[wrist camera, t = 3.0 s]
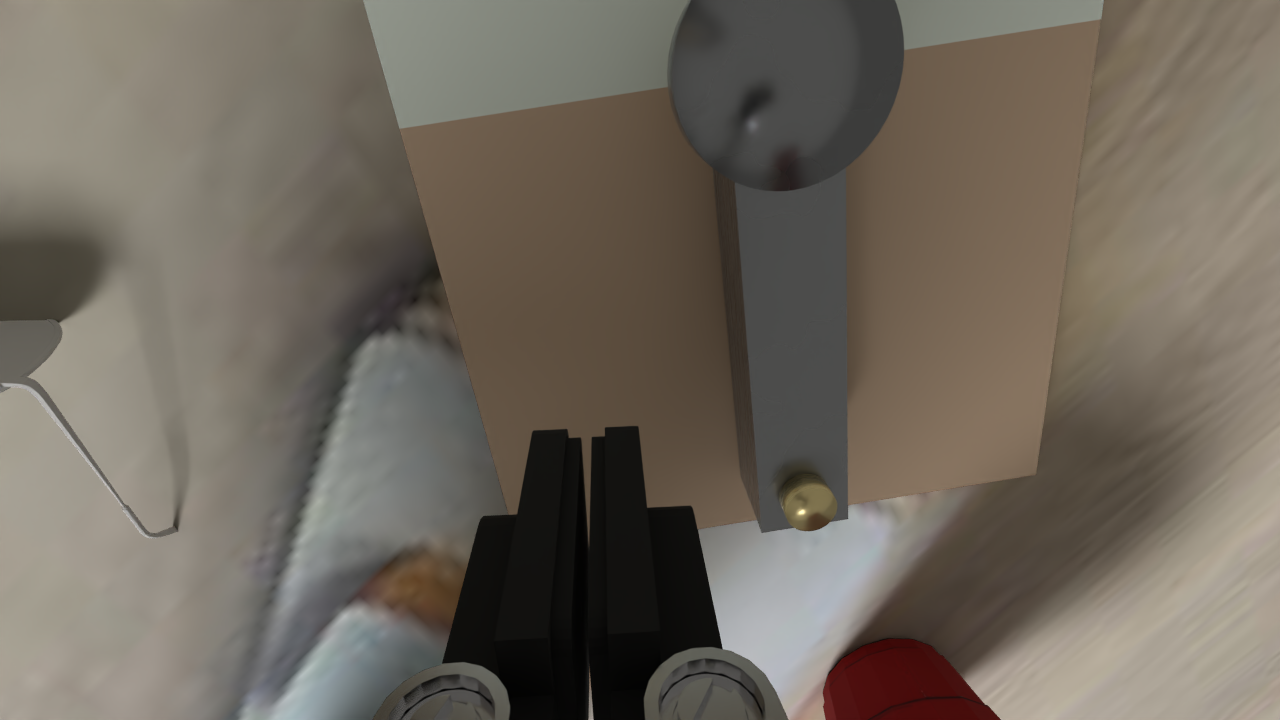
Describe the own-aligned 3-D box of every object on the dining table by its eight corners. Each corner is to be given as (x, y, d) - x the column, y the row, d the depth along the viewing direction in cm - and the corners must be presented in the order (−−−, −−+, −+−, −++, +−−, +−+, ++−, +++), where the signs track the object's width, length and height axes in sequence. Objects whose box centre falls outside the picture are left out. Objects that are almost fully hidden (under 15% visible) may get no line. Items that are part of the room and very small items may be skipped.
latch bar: (850, 459, 20) (898, 528, 17) (705, 482, 20) (726, 556, 17) (849, -55, 15) (921, -93, 11) (646, -24, 15) (660, -53, 11)
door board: (1001, 444, 23) (1095, 527, 19) (526, 520, 23) (511, 621, 19) (1141, -793, 12) (1457, -1297, 8) (210, -654, 12) (-15, -1086, 8)
